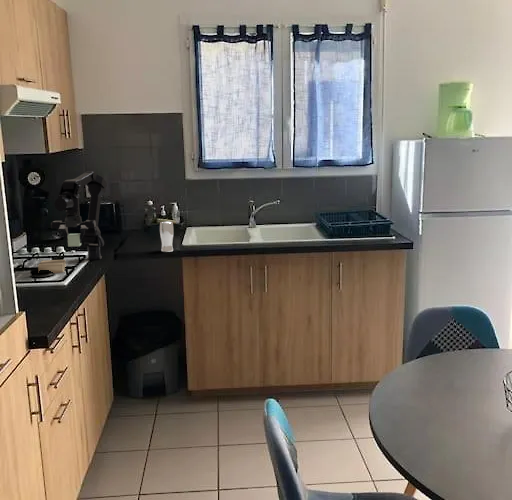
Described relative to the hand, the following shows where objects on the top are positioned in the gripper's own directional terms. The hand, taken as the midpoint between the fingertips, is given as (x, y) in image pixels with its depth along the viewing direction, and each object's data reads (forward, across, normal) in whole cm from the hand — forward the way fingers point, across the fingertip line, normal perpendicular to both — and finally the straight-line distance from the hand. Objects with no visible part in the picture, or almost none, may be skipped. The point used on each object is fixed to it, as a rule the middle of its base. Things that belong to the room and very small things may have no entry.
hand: (74, 243), depth 260 cm
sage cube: (+1, 0, 0) cm, 1 cm away
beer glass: (+11, +41, +32) cm, 53 cm away
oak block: (+11, -9, -7) cm, 16 cm away
